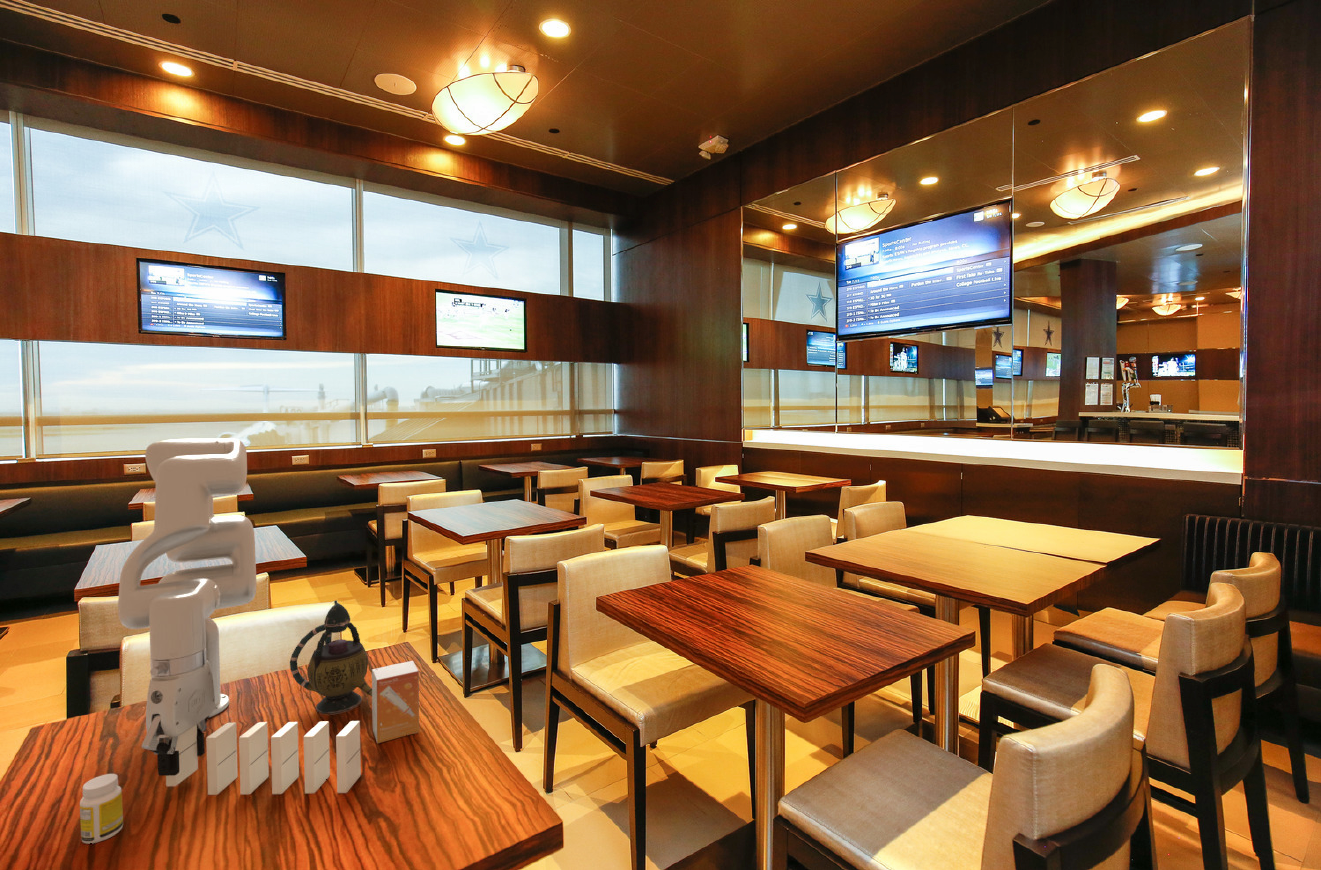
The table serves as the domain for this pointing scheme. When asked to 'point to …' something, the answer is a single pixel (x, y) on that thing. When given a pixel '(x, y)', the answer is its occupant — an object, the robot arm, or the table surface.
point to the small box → (395, 701)
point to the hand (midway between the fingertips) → (181, 763)
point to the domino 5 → (316, 756)
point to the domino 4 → (284, 757)
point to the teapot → (334, 665)
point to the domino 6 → (348, 756)
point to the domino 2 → (221, 758)
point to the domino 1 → (185, 756)
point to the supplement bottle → (101, 809)
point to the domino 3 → (253, 757)
